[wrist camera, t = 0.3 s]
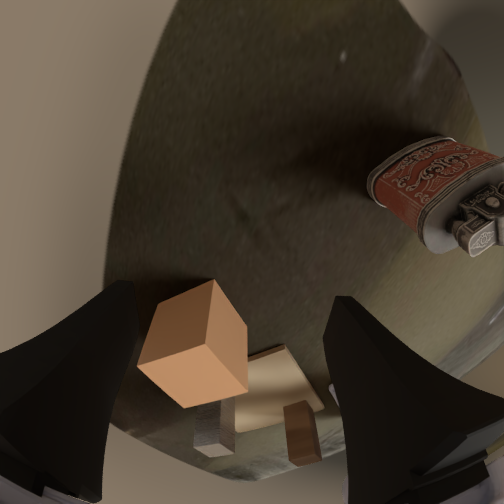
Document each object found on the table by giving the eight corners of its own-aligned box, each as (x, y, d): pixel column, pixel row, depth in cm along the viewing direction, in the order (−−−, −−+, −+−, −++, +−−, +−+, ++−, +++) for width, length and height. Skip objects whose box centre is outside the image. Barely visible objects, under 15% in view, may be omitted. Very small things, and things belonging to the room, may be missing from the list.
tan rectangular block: (246, 326, 24) (248, 391, 18) (193, 345, 25) (183, 408, 19) (214, 279, 22) (205, 343, 16) (158, 303, 23) (136, 366, 17)
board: (323, 404, 30) (324, 408, 29) (238, 428, 32) (238, 432, 31) (284, 344, 25) (285, 348, 24) (180, 378, 27) (179, 382, 26)
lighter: (376, 213, 19) (456, 296, 11) (358, 171, 18) (447, 235, 9) (458, 167, 18) (554, 218, 9) (446, 126, 16) (553, 160, 7)
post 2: (313, 409, 29) (322, 460, 23) (291, 416, 30) (298, 466, 24) (305, 399, 28) (314, 453, 22) (282, 406, 29) (288, 460, 23)
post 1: (235, 396, 27) (234, 453, 22) (213, 402, 28) (209, 457, 22) (221, 383, 26) (219, 443, 20) (199, 389, 27) (193, 447, 21)
